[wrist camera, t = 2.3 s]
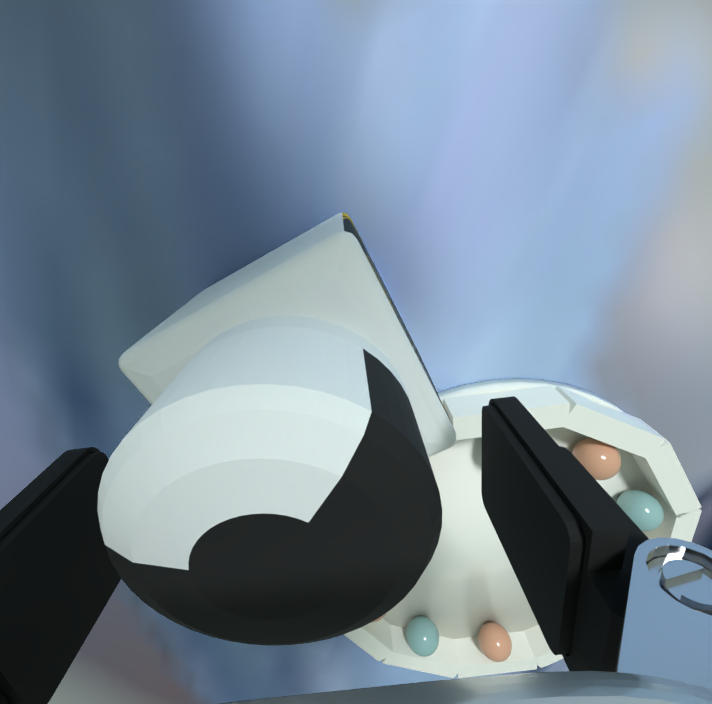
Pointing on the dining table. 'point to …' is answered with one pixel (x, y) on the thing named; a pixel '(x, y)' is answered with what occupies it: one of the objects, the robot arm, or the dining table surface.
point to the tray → (483, 548)
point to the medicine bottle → (279, 452)
